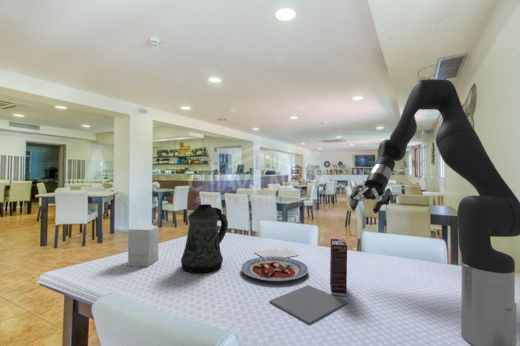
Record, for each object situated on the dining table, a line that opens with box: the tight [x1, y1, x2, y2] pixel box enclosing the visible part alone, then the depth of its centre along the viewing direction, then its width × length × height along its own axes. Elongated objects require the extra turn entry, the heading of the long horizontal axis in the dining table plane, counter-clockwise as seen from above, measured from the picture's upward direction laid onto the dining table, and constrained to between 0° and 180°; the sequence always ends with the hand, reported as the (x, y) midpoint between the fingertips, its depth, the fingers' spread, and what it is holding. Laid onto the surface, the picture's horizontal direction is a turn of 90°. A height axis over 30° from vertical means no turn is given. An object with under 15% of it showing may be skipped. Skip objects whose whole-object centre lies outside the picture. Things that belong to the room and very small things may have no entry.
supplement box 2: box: [127, 225, 159, 267], centre depth 112 cm, size 9×9×15 cm
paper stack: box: [253, 248, 298, 258], centre depth 132 cm, size 23×25×1 cm
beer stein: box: [180, 203, 229, 275], centre depth 109 cm, size 16×19×25 cm
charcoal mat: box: [269, 284, 349, 325], centre depth 78 cm, size 15×18×1 cm
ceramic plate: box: [240, 256, 309, 282], centre depth 103 cm, size 26×26×3 cm
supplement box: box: [329, 238, 348, 297], centre depth 87 cm, size 9×5×16 cm, turn 168°
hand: (363, 210), depth 97 cm, fingers open, 8 cm apart
